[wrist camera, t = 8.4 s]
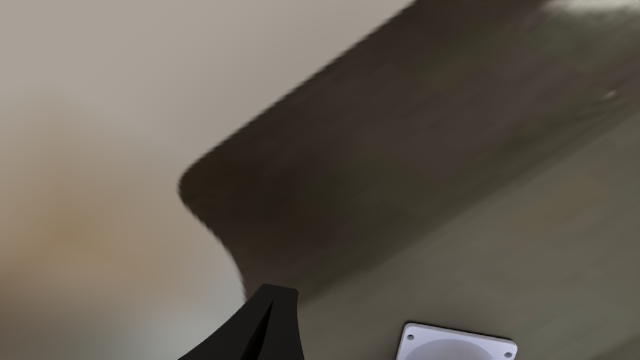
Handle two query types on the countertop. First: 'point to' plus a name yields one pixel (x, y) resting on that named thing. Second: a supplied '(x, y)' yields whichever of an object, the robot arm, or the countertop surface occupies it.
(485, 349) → the robot arm
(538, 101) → the countertop surface
